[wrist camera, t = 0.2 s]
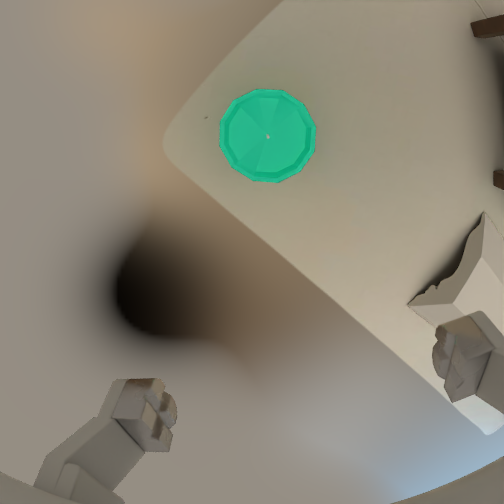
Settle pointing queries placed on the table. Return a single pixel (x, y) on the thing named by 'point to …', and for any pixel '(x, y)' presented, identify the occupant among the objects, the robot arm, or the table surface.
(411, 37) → the table surface
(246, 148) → the candle
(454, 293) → the molding piece
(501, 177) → the stand
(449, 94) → the table surface
